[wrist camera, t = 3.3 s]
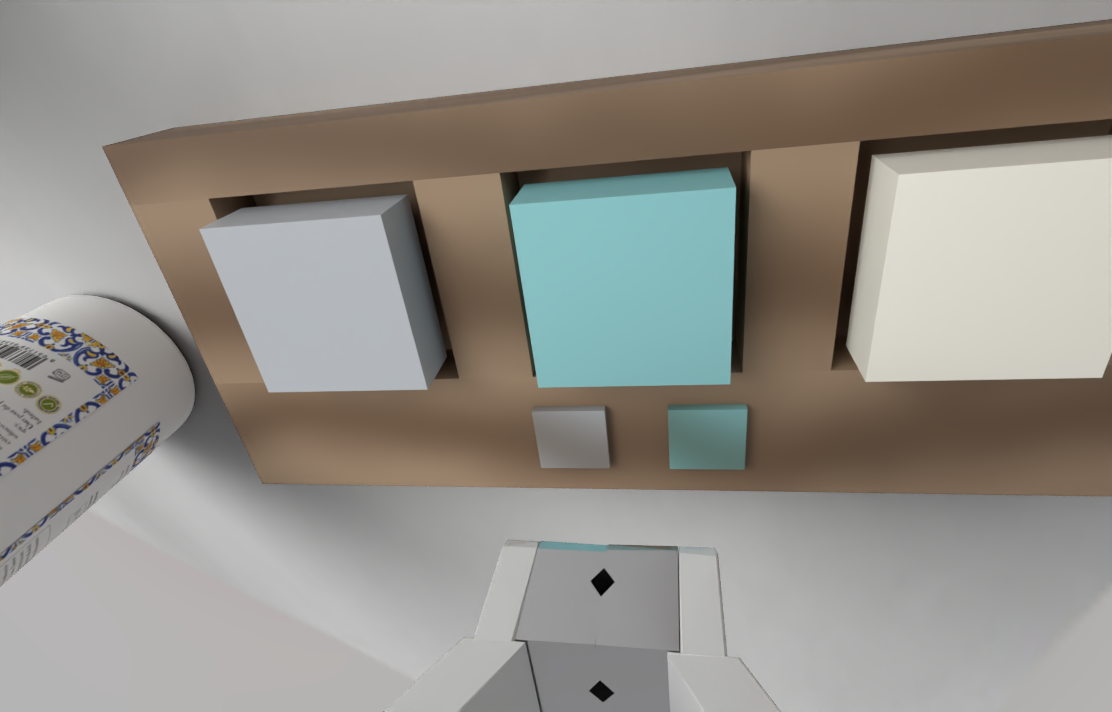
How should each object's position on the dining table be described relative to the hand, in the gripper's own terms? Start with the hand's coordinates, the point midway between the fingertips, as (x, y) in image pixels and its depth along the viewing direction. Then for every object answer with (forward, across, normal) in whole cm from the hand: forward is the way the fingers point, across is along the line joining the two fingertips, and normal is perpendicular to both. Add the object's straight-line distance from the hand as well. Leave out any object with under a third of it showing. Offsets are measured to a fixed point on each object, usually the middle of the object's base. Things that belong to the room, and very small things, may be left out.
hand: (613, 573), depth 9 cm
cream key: (+11, -9, -1) cm, 14 cm away
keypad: (+13, 0, +1) cm, 13 cm away
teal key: (+11, 0, -1) cm, 11 cm away
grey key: (+10, +9, -1) cm, 14 cm away
